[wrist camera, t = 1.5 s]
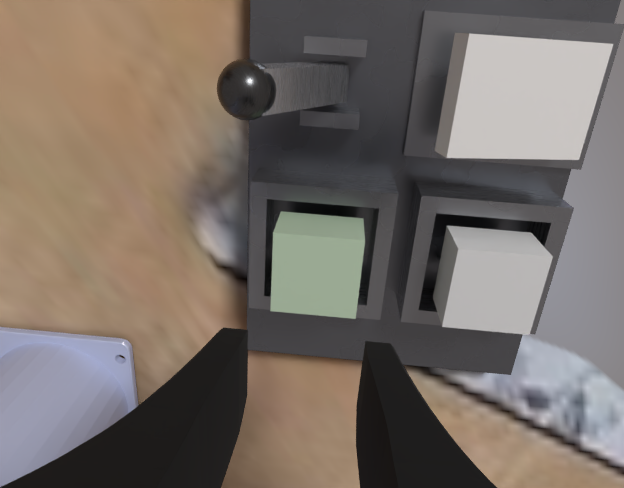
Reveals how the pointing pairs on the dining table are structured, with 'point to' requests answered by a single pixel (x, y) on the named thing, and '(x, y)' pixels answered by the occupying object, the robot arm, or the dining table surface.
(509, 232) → the button
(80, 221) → the dining table surface
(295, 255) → the button
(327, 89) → the toggle lever
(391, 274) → the panel
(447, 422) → the dining table surface
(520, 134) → the rocker
